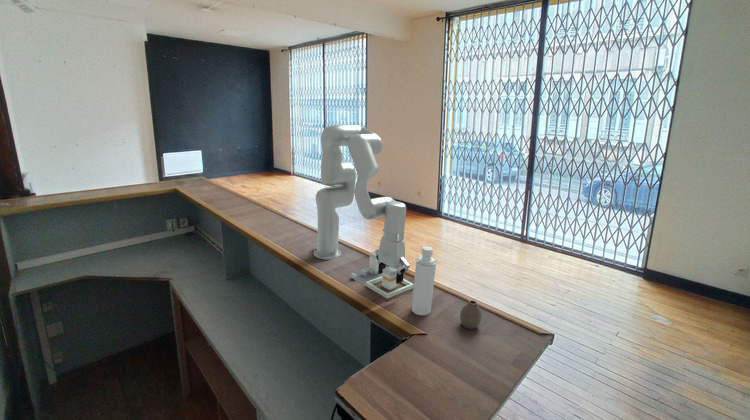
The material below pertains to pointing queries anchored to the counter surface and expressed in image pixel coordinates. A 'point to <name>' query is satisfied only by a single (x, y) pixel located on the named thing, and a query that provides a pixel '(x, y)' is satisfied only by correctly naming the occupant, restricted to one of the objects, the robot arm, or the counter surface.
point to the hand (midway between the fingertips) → (390, 277)
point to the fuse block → (363, 275)
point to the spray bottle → (424, 282)
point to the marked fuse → (389, 278)
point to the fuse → (373, 262)
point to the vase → (471, 315)
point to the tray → (393, 293)
